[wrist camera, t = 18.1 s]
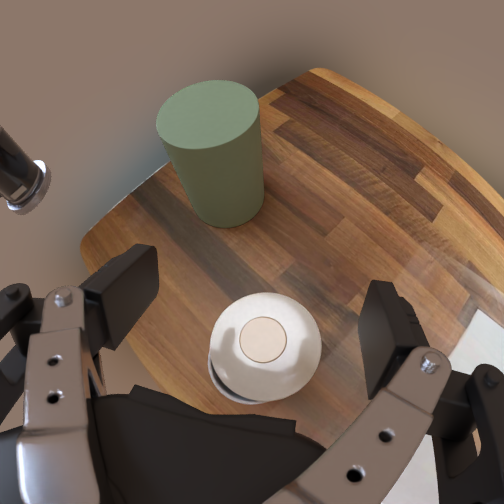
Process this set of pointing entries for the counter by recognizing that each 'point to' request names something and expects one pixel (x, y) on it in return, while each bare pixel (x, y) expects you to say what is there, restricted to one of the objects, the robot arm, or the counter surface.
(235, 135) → the cylinder
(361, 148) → the counter surface
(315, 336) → the lid
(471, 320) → the counter surface
